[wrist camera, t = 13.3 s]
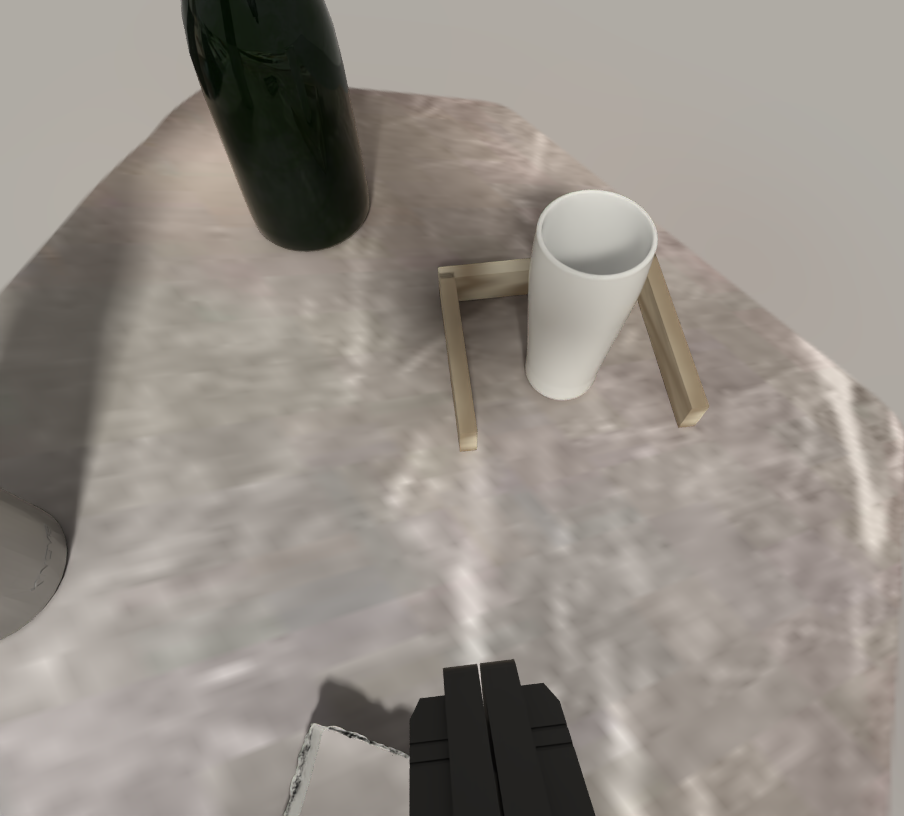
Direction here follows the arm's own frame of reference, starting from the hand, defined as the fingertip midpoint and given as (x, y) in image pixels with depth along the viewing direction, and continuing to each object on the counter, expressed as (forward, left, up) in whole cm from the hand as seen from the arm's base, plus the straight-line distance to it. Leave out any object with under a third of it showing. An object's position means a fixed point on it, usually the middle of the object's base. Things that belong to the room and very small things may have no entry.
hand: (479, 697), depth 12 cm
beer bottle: (-9, +42, -26) cm, 50 cm away
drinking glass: (+10, +22, -26) cm, 36 cm away
